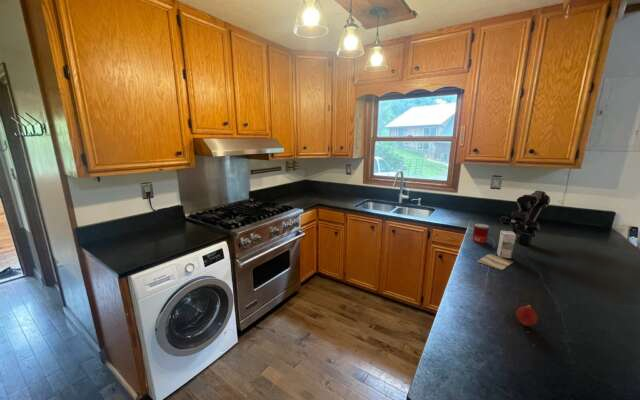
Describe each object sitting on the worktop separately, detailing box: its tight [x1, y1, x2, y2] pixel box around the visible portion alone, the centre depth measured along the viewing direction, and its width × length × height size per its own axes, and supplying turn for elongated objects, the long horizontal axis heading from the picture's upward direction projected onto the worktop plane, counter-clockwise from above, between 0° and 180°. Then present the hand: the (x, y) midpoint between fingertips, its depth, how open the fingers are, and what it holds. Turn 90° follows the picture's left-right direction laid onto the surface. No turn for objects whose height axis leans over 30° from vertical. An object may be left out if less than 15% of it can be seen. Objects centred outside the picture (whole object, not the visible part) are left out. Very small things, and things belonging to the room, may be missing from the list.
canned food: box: [472, 223, 490, 244], centre depth 168 cm, size 8×8×11 cm
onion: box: [515, 304, 538, 327], centre depth 91 cm, size 6×6×8 cm
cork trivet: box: [476, 253, 514, 271], centre depth 140 cm, size 16×12×1 cm
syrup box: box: [496, 230, 517, 260], centre depth 146 cm, size 6×6×14 cm
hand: (513, 235), depth 152 cm, fingers closed
